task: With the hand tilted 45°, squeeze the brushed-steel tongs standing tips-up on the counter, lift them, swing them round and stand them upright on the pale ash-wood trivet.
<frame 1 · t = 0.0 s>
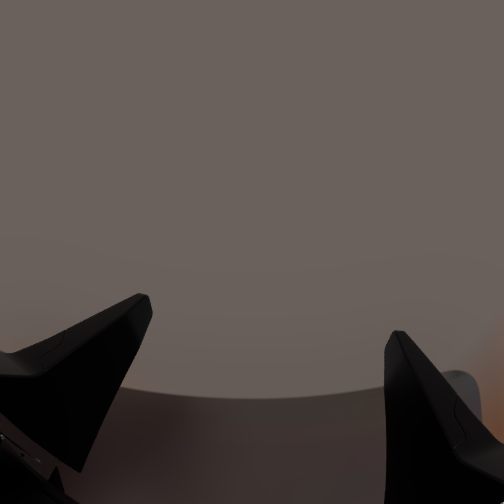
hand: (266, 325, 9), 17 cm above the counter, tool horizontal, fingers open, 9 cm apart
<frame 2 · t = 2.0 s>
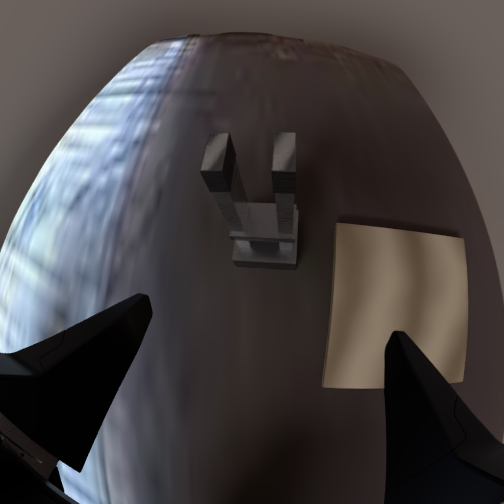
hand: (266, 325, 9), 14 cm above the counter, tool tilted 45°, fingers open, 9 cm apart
trivet: (404, 308, 21), on the counter
tongs: (267, 242, 25), on the counter
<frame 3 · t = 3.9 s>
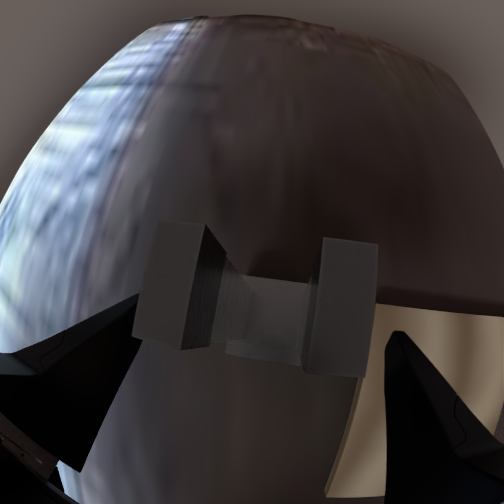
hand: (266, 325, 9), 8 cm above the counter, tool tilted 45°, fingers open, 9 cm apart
trivet: (436, 407, 14), on the counter
tongs: (277, 322, 17), on the counter
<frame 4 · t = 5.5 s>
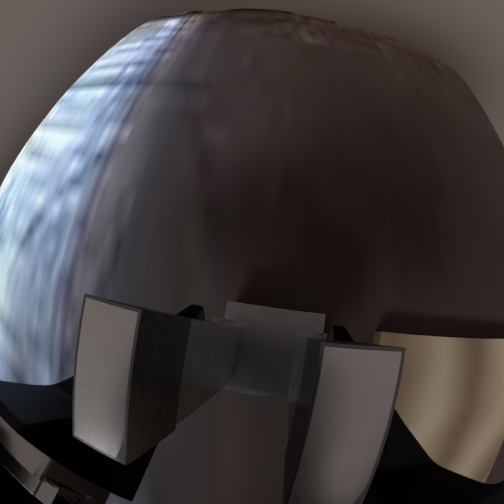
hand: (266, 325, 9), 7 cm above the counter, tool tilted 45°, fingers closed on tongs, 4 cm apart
trivet: (439, 435, 12), on the counter
tongs: (271, 350, 15), on the counter, touching gripper
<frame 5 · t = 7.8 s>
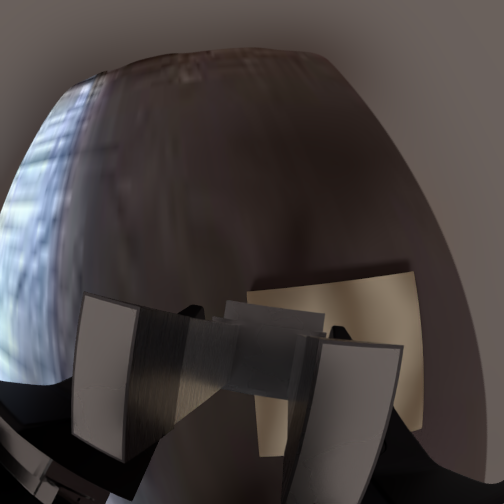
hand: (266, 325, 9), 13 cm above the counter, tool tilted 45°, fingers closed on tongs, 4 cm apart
trivet: (341, 368, 20), on the counter
tongs: (270, 350, 15), point 6 cm above the counter, touching gripper
when the fingers open (9 cm above the counter, at t = 9.9 s): tongs drops 1 cm, resting on trivet.
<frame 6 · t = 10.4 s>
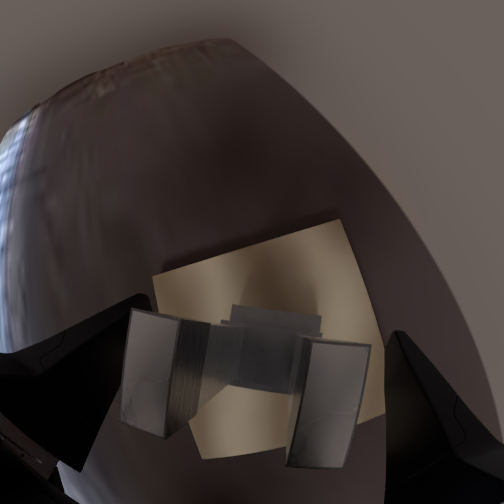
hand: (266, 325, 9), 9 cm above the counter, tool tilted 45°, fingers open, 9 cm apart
trivet: (273, 347, 18), on the counter
tongs: (272, 349, 17), point 1 cm above the counter, touching trivet
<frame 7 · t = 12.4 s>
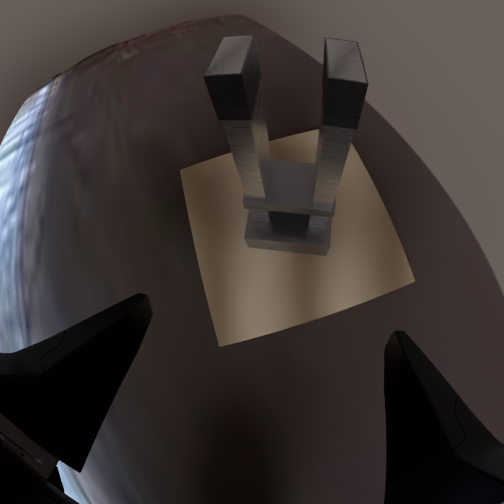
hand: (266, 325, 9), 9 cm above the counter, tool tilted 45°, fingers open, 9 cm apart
trivet: (291, 224, 20), on the counter
tongs: (290, 218, 19), point 1 cm above the counter, touching trivet
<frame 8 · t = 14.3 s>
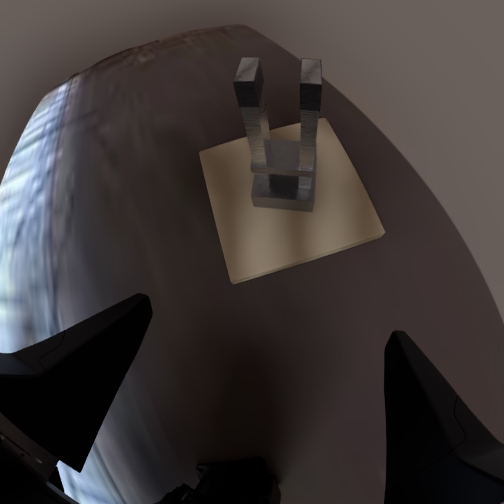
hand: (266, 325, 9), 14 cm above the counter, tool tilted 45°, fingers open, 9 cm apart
trivet: (286, 191, 25), on the counter
tongs: (285, 185, 24), point 1 cm above the counter, touching trivet
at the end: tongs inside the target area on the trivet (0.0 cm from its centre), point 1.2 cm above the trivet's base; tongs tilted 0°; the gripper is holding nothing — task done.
